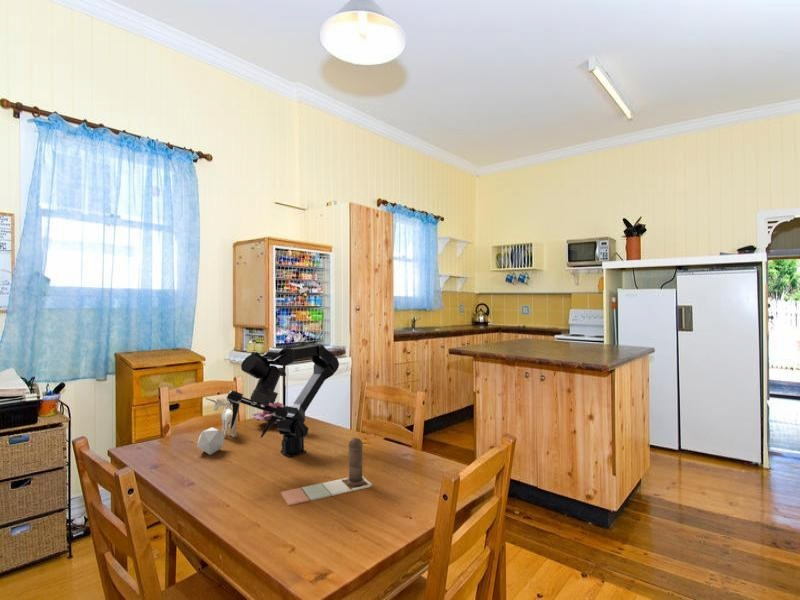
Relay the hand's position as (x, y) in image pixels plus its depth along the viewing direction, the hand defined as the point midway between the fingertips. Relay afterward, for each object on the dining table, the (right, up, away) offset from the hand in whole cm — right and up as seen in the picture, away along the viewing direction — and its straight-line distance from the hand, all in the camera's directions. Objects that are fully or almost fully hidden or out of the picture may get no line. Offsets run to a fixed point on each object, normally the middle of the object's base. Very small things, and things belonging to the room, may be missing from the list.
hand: (246, 433), depth 131 cm
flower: (-7, -12, +49) cm, 51 cm away
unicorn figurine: (-22, -12, +35) cm, 43 cm away
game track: (+26, -12, -11) cm, 31 cm away
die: (-18, -12, +18) cm, 28 cm away
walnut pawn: (+34, -12, -7) cm, 37 cm away
